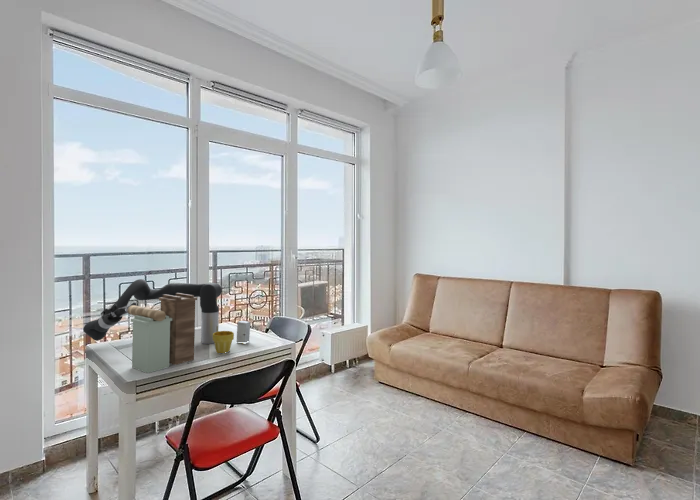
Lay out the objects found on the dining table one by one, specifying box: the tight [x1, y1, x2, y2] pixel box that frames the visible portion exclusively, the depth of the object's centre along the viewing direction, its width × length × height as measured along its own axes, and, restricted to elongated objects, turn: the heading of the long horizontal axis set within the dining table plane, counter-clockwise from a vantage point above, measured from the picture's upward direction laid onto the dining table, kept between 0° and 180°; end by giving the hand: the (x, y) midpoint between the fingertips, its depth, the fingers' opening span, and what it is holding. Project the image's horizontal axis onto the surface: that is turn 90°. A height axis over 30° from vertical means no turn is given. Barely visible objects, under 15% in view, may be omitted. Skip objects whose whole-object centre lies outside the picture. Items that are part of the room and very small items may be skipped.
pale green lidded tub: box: [130, 315, 172, 374], centre depth 171 cm, size 12×12×23 cm
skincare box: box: [236, 320, 251, 342], centre depth 215 cm, size 6×4×12 cm
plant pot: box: [213, 330, 235, 354], centre depth 198 cm, size 10×10×10 cm
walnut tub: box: [158, 293, 198, 366], centre depth 182 cm, size 12×12×31 cm
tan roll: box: [127, 305, 166, 321], centre depth 172 cm, size 22×4×4 cm, turn 59°
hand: (126, 305), depth 181 cm, fingers open, 8 cm apart
